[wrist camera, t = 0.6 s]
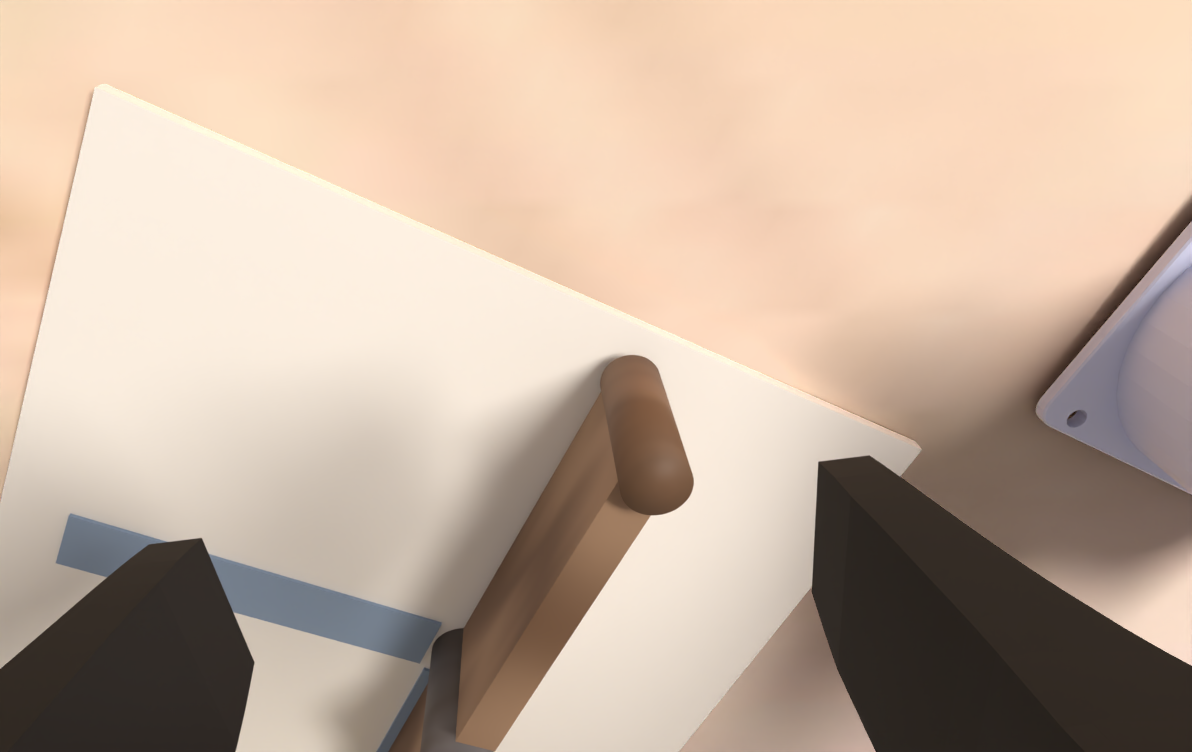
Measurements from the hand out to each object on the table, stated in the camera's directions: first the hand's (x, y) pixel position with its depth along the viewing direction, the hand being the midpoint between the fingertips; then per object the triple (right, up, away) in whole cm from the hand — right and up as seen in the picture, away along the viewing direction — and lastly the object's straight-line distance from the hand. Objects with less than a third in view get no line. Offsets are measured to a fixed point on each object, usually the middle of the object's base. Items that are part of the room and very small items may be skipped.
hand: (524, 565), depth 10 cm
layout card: (-5, -5, +13) cm, 15 cm away
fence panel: (0, -1, +11) cm, 11 cm away
